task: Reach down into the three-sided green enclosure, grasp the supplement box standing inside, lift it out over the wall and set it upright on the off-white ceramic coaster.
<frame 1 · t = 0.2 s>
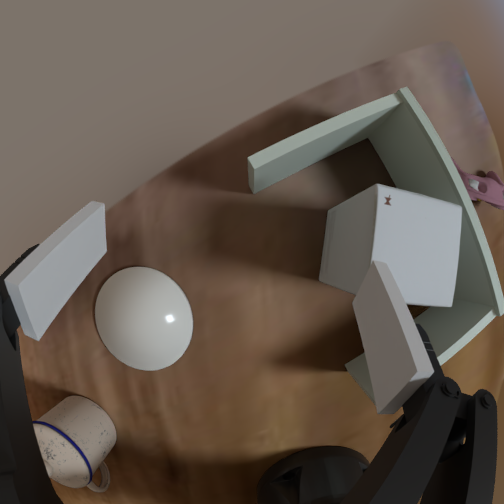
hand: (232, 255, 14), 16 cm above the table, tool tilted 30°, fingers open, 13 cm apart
coaster: (142, 319, 29), on the table
supplement box: (355, 250, 30), on the table
three-sided green enclosure: (365, 246, 29), on the table
teacup with lid: (94, 431, 29), on the table
video game controller: (465, 187, 30), on the table
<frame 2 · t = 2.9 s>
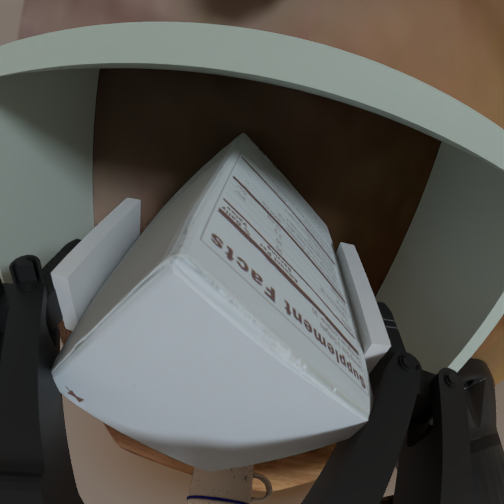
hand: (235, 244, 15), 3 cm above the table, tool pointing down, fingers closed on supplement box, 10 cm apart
supplement box: (242, 215, 18), on the table, touching gripper
three-sided green enclosure: (248, 200, 17), on the table
teacup with lid: (235, 456, 38), on the table
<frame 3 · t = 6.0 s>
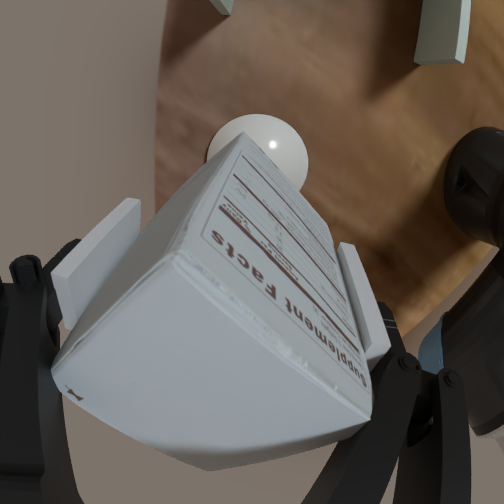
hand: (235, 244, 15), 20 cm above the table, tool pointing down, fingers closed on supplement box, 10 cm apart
coaster: (257, 162, 32), on the table
supplement box: (242, 214, 18), point 16 cm above the table, touching gripper
when the fingers open (5 cm above the table, at t = 9.4 s): supplement box drops 1 cm, resting on coaster.
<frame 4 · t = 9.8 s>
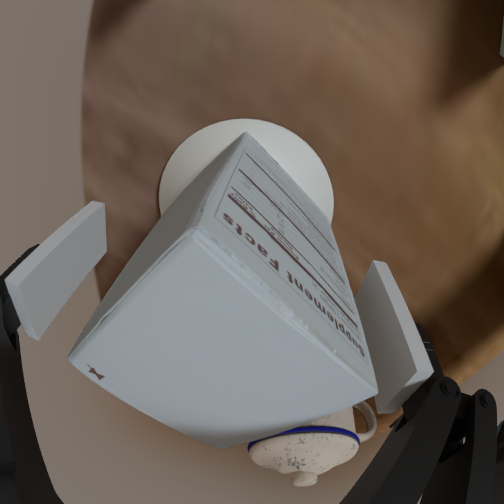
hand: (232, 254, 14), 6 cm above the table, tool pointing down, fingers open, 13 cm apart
coaster: (244, 205, 19), on the table
supplement box: (247, 209, 19), resting on coaster
teacup with lid: (315, 372, 28), on the table
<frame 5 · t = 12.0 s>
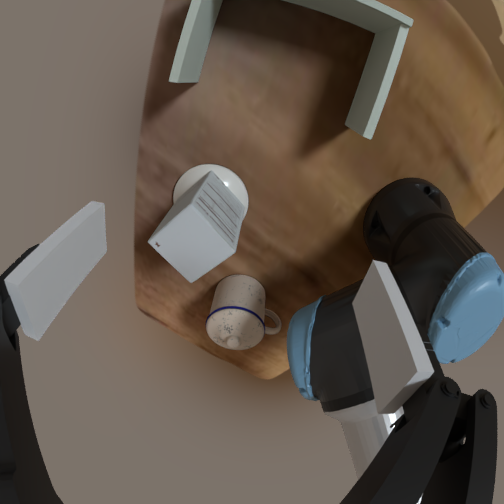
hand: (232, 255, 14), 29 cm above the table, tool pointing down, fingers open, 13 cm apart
coaster: (210, 200, 43), on the table
supplement box: (211, 201, 43), resting on coaster
three-sided green enclosure: (288, 48, 31), on the table
teacup with lid: (248, 295, 52), on the table
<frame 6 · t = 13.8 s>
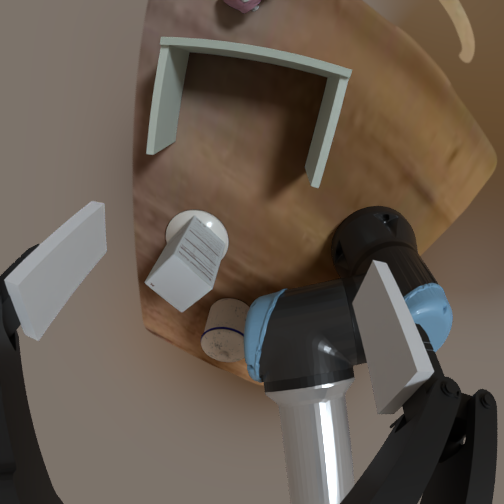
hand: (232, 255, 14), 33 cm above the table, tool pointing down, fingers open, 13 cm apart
coaster: (197, 239, 51), on the table
supplement box: (197, 240, 51), resting on coaster
three-sided green enclosure: (248, 103, 39), on the table
teacup with lid: (238, 314, 60), on the table
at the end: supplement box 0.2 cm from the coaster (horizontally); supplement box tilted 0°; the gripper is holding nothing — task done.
